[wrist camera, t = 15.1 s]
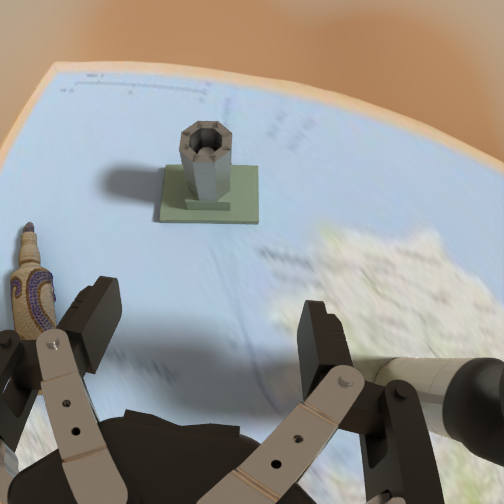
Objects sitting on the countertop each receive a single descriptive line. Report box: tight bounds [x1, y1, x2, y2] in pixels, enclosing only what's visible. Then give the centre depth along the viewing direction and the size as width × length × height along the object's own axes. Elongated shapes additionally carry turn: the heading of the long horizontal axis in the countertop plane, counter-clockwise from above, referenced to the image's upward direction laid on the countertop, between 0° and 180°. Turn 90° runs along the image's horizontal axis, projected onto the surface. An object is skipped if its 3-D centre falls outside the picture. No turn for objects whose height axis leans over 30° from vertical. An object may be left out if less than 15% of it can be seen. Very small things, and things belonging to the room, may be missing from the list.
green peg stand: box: [159, 147, 259, 224], centre depth 42 cm, size 14×9×11 cm, turn 90°
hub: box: [179, 121, 232, 202], centre depth 39 cm, size 6×6×10 cm
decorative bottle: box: [10, 222, 57, 395], centre depth 38 cm, size 26×8×7 cm, turn 13°
